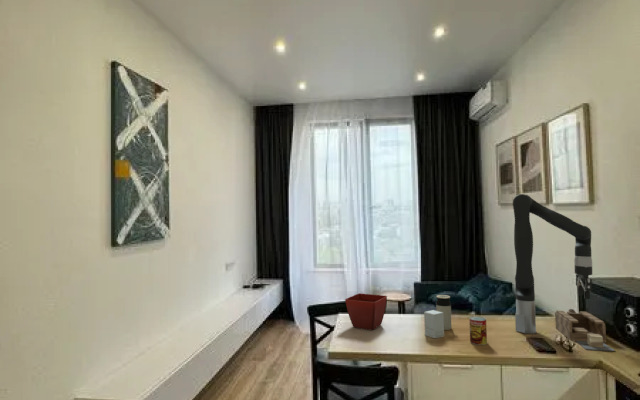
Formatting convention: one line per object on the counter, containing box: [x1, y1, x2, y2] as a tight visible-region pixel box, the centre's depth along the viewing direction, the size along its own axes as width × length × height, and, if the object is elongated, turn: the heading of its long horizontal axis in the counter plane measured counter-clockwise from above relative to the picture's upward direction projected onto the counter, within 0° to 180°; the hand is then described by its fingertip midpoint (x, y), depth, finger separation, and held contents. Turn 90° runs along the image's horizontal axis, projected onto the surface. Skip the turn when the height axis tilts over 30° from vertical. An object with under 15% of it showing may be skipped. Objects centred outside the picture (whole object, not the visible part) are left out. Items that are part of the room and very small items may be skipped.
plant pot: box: [344, 293, 388, 331], centre depth 226 cm, size 19×19×17 cm
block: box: [587, 334, 604, 347], centre depth 186 cm, size 4×5×5 cm
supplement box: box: [423, 309, 445, 339], centre depth 207 cm, size 7×7×13 cm
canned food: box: [468, 315, 488, 346], centre depth 195 cm, size 8×8×12 cm
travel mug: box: [435, 294, 452, 331], centre depth 220 cm, size 8×8×18 cm
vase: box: [566, 308, 577, 313], centre depth 222 cm, size 7×7×9 cm
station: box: [554, 310, 616, 353], centre depth 197 cm, size 34×16×10 cm, turn 166°
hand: (583, 296), depth 196 cm, fingers open, 8 cm apart
